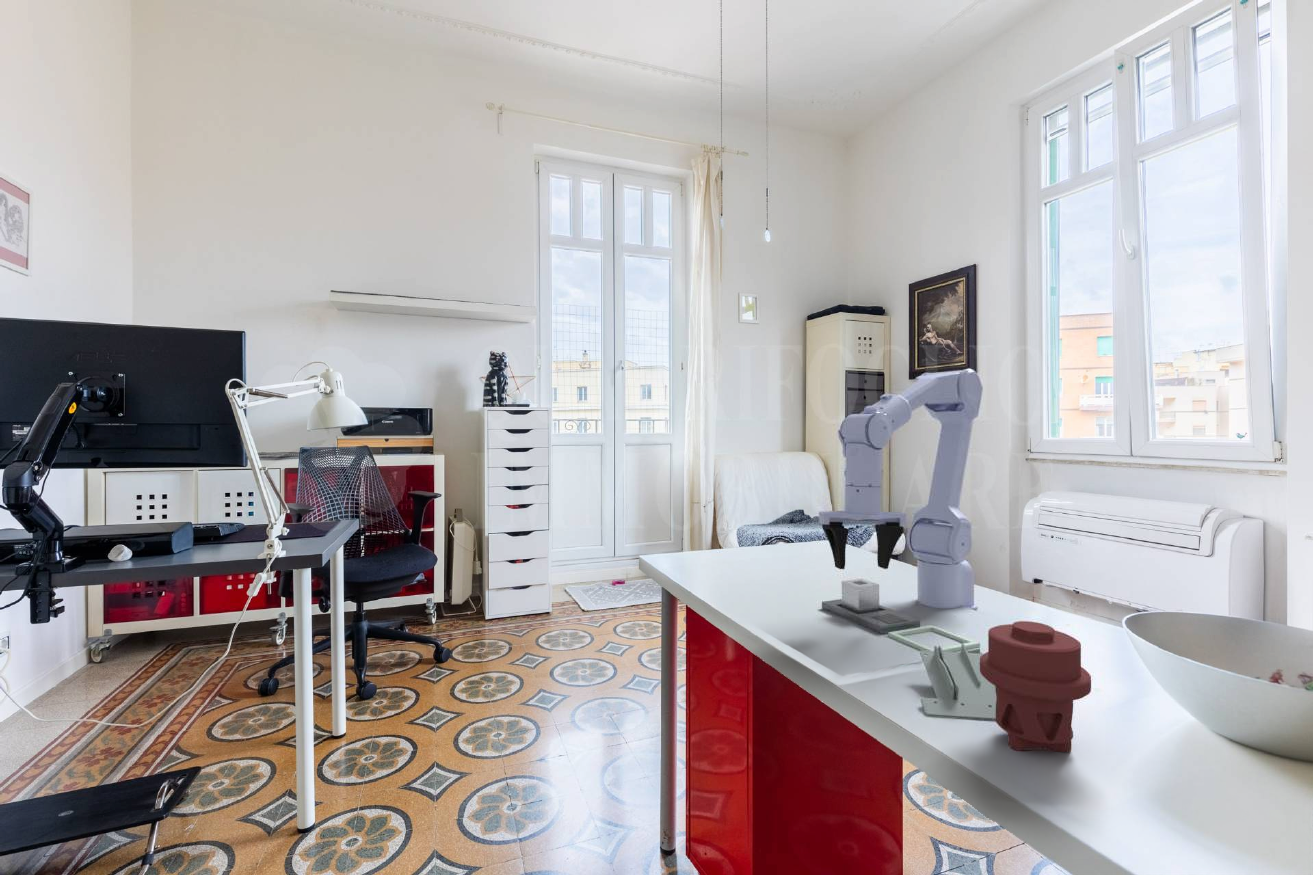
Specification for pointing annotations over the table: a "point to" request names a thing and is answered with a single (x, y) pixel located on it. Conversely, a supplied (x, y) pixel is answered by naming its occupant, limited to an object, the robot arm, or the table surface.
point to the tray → (967, 642)
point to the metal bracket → (958, 686)
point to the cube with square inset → (860, 596)
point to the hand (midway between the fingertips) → (861, 567)
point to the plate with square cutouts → (874, 618)
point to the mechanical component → (1035, 683)
